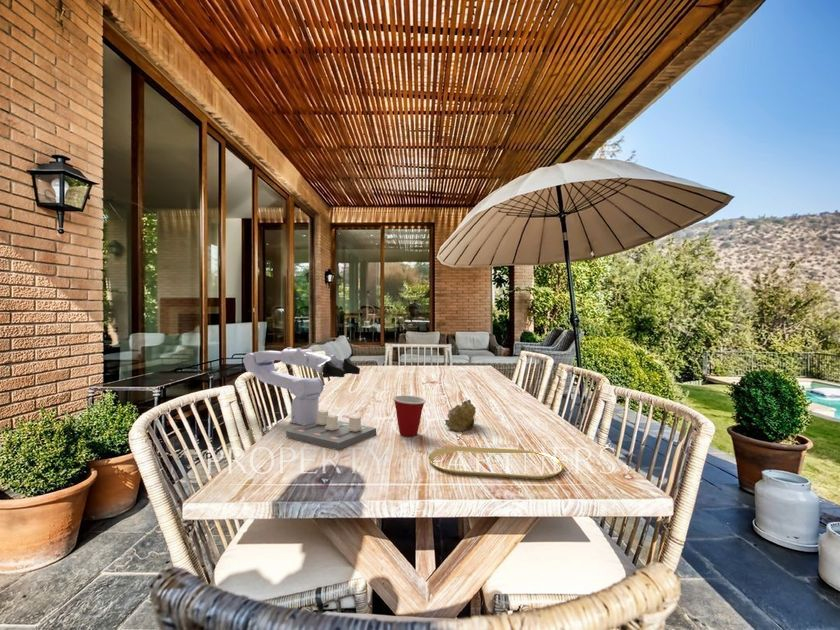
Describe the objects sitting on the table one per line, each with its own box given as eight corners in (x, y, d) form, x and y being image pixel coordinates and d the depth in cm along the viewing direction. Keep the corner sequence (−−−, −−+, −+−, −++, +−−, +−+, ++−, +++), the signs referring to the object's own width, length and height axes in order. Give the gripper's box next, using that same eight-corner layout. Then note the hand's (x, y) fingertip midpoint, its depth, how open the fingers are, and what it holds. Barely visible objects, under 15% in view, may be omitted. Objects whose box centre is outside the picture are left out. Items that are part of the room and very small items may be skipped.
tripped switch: (324, 429, 132) (324, 416, 132) (331, 426, 134) (331, 414, 134) (332, 430, 130) (332, 418, 130) (339, 428, 133) (339, 415, 133)
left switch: (315, 423, 138) (315, 411, 138) (322, 421, 140) (322, 409, 140) (322, 425, 136) (322, 413, 136) (329, 422, 139) (329, 411, 139)
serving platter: (569, 484, 97) (570, 478, 97) (424, 474, 102) (424, 468, 102) (555, 457, 116) (555, 451, 116) (432, 449, 121) (432, 444, 121)
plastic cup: (427, 439, 130) (427, 401, 130) (393, 439, 129) (393, 401, 129) (424, 429, 141) (424, 394, 140) (392, 429, 140) (392, 394, 140)
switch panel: (286, 437, 130) (286, 430, 130) (326, 424, 145) (326, 418, 145) (338, 449, 119) (338, 442, 119) (376, 434, 134) (376, 427, 134)
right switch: (347, 430, 131) (347, 417, 130) (354, 427, 133) (354, 415, 133) (355, 431, 129) (355, 419, 129) (362, 429, 132) (362, 416, 132)
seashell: (474, 425, 152) (473, 397, 153) (478, 432, 137) (478, 401, 138) (444, 425, 152) (444, 397, 153) (445, 432, 138) (445, 402, 139)
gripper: (308, 353, 137) (338, 363, 130) (337, 350, 150) (366, 358, 143) (305, 374, 138) (335, 384, 131) (335, 369, 150) (364, 378, 143)
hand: (351, 372), depth 137 cm, fingers open, 7 cm apart
